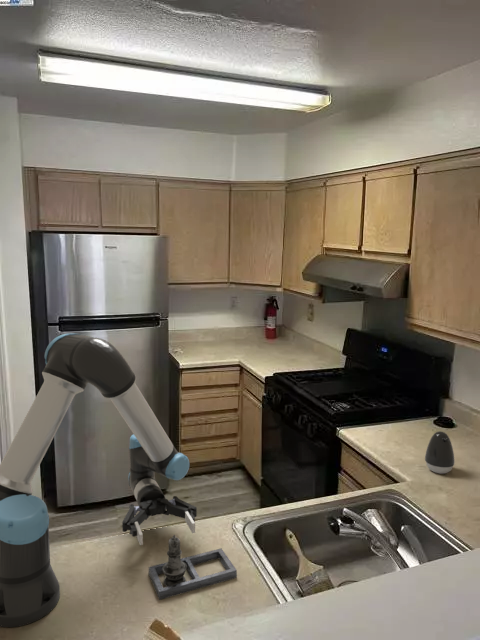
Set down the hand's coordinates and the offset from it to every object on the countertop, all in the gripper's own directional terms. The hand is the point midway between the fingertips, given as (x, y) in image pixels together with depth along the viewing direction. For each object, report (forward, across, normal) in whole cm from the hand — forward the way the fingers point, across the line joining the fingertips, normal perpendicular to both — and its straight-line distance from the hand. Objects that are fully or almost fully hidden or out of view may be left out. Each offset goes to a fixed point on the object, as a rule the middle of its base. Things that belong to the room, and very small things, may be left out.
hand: (168, 533), depth 122 cm
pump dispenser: (-16, -108, -9) cm, 110 cm away
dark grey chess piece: (+6, 0, -9) cm, 11 cm away
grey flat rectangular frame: (+6, -4, -9) cm, 12 cm away
